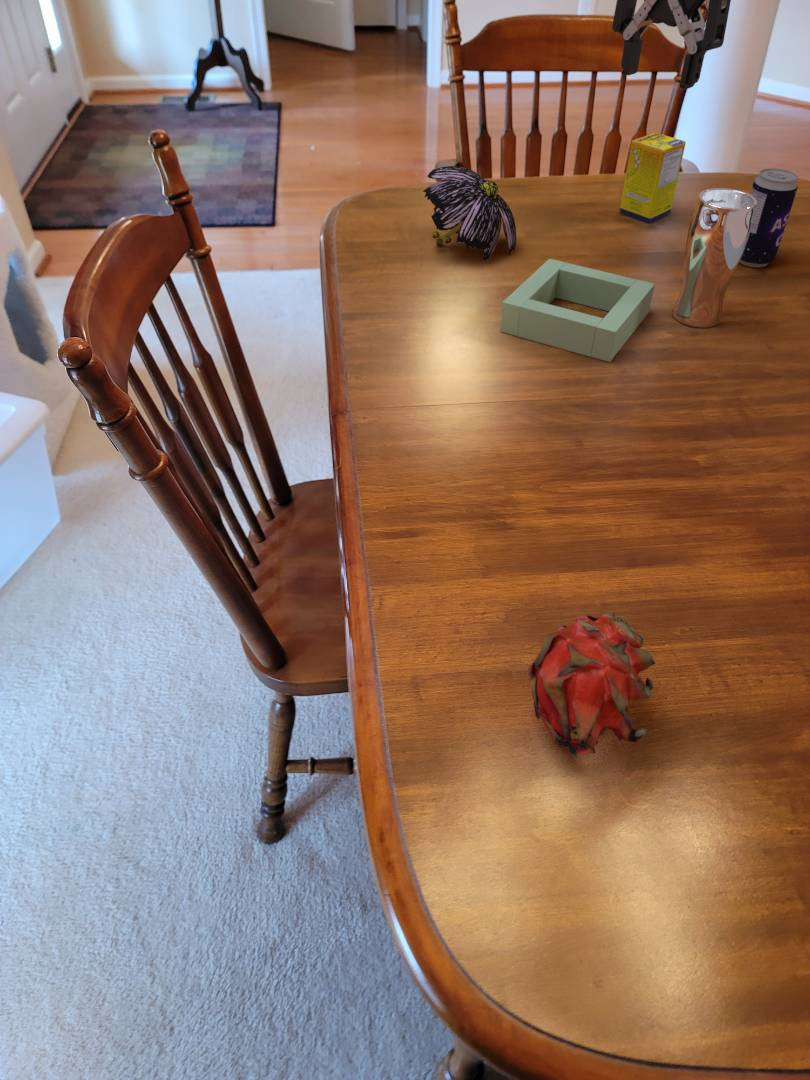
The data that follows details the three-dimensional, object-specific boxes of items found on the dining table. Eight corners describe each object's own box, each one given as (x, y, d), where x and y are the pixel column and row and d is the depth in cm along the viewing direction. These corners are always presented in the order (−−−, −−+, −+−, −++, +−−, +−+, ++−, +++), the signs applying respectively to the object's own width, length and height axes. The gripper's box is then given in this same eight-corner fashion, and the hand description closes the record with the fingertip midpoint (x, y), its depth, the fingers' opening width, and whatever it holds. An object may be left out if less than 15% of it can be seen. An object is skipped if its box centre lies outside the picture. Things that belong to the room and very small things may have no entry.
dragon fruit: (608, 662, 67) (568, 797, 60) (529, 602, 65) (479, 734, 58) (689, 634, 60) (655, 781, 54) (605, 566, 59) (558, 710, 52)
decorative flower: (501, 208, 108) (419, 147, 112) (461, 286, 115) (385, 227, 119) (551, 206, 119) (475, 151, 123) (512, 278, 126) (441, 224, 130)
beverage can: (762, 273, 116) (790, 185, 108) (725, 261, 119) (748, 174, 111) (780, 260, 119) (808, 174, 111) (743, 249, 122) (767, 164, 114)
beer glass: (727, 332, 104) (762, 211, 94) (670, 327, 105) (699, 207, 95) (721, 306, 109) (754, 189, 99) (667, 301, 110) (694, 185, 100)
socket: (648, 312, 108) (655, 283, 105) (609, 362, 99) (615, 331, 96) (545, 286, 113) (549, 258, 110) (499, 331, 104) (502, 301, 101)
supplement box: (639, 203, 135) (653, 131, 128) (671, 214, 132) (687, 140, 125) (617, 212, 132) (630, 139, 125) (649, 224, 129) (664, 149, 122)
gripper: (763, -79, 90) (724, 86, 101) (654, -90, 98) (629, 64, 109) (723, -73, 87) (688, 98, 98) (614, -85, 95) (592, 74, 105)
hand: (657, 80), depth 103 cm, fingers open, 8 cm apart
